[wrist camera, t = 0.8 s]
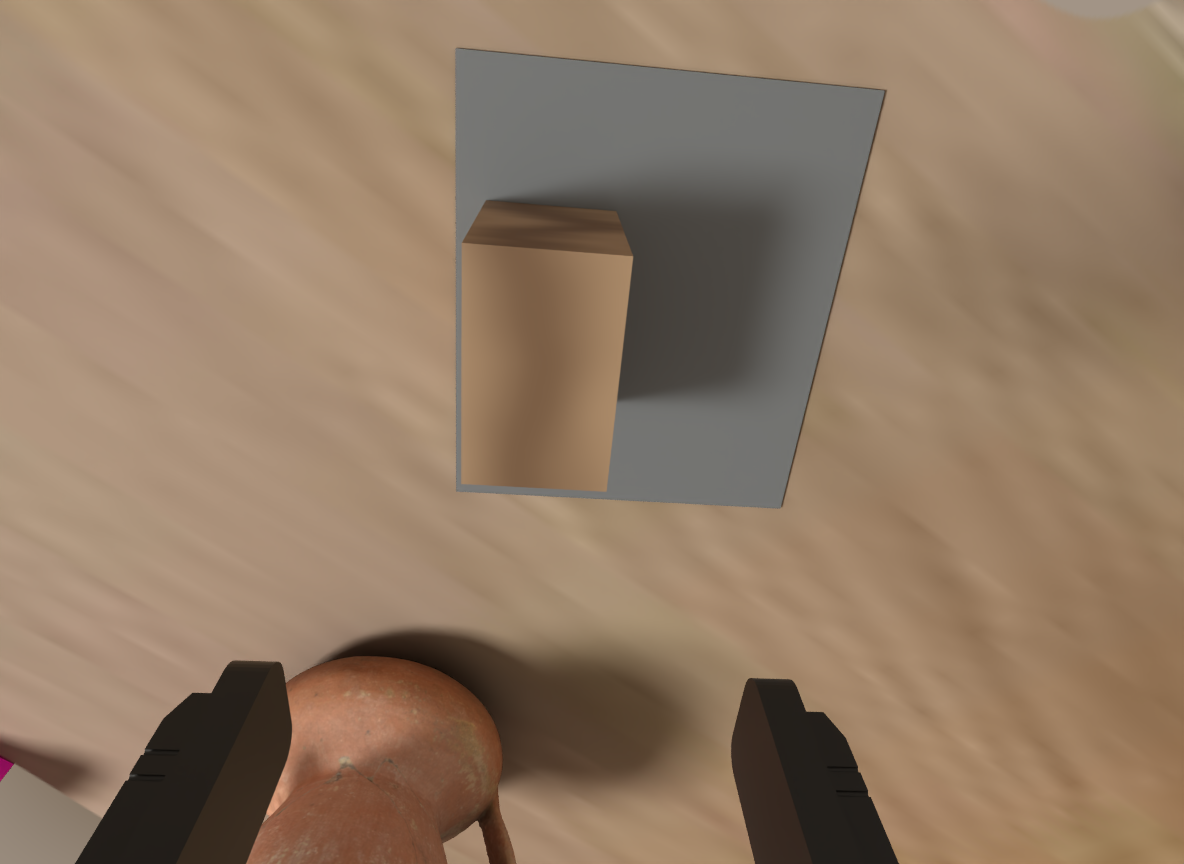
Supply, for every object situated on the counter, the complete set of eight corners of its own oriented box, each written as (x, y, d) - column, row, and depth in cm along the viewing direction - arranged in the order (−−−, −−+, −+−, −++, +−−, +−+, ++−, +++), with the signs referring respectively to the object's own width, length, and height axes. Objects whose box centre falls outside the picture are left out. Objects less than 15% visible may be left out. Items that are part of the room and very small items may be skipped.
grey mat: (883, 90, 28) (885, 90, 28) (779, 507, 37) (780, 508, 37) (455, 48, 27) (455, 48, 27) (456, 490, 36) (456, 491, 36)
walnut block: (616, 211, 30) (633, 256, 23) (597, 402, 34) (606, 491, 27) (485, 200, 29) (461, 242, 22) (482, 395, 34) (461, 484, 26)
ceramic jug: (211, 735, 44) (68, 1006, 31) (309, 580, 38) (186, 831, 26) (464, 829, 49) (430, 1094, 36) (581, 704, 44) (589, 963, 31)
